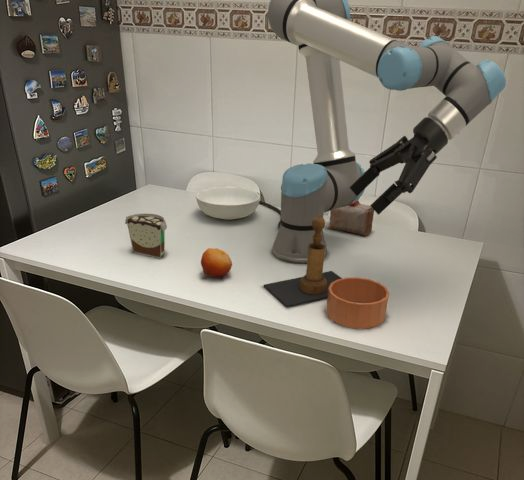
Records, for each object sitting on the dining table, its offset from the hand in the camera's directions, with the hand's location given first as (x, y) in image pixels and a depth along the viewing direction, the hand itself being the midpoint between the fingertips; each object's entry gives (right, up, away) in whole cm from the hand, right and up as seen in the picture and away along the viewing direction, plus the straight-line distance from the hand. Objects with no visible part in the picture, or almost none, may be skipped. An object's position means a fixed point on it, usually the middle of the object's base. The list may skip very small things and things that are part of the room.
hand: (363, 200), depth 118 cm
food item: (+5, +4, +46) cm, 47 cm away
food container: (-54, -6, +29) cm, 61 cm away
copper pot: (-2, -26, +1) cm, 26 cm away
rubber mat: (-11, -19, +11) cm, 24 cm away
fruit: (-35, -15, +17) cm, 41 cm away
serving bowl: (-34, +11, +56) cm, 66 cm away
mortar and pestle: (-10, -19, +10) cm, 24 cm away
